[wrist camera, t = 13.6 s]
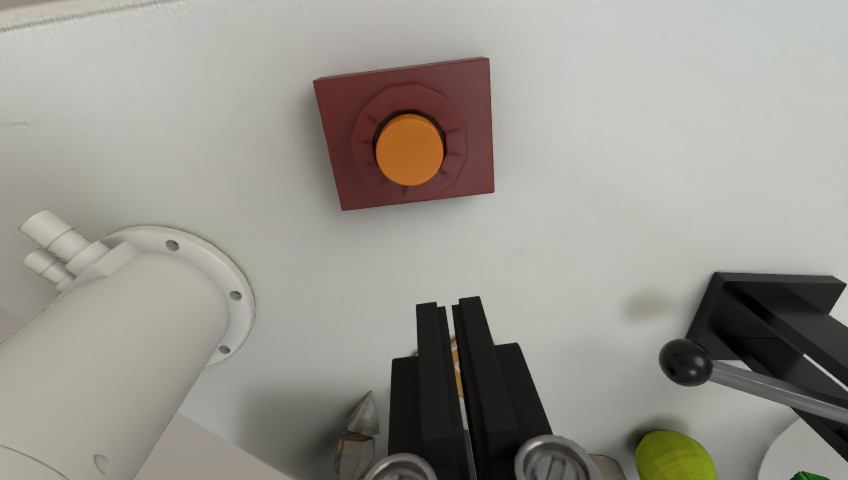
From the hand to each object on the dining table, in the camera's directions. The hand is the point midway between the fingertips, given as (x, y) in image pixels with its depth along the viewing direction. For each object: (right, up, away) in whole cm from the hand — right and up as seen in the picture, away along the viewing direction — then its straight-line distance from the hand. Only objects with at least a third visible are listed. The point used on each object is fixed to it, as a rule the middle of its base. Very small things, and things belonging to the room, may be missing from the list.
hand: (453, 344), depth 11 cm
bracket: (+27, -3, +23) cm, 36 cm away
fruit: (+23, -17, +30) cm, 41 cm away
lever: (+23, -6, +17) cm, 29 cm away
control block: (-2, +10, +15) cm, 18 cm away
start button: (-2, +8, +12) cm, 15 cm away
